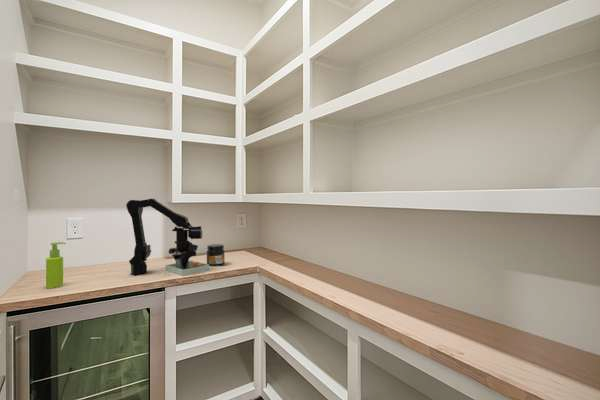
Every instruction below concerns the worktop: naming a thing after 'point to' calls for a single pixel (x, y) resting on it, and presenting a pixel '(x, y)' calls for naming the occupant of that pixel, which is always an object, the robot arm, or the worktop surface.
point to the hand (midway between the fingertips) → (182, 268)
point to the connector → (179, 265)
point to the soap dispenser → (54, 267)
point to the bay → (196, 268)
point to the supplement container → (215, 255)
